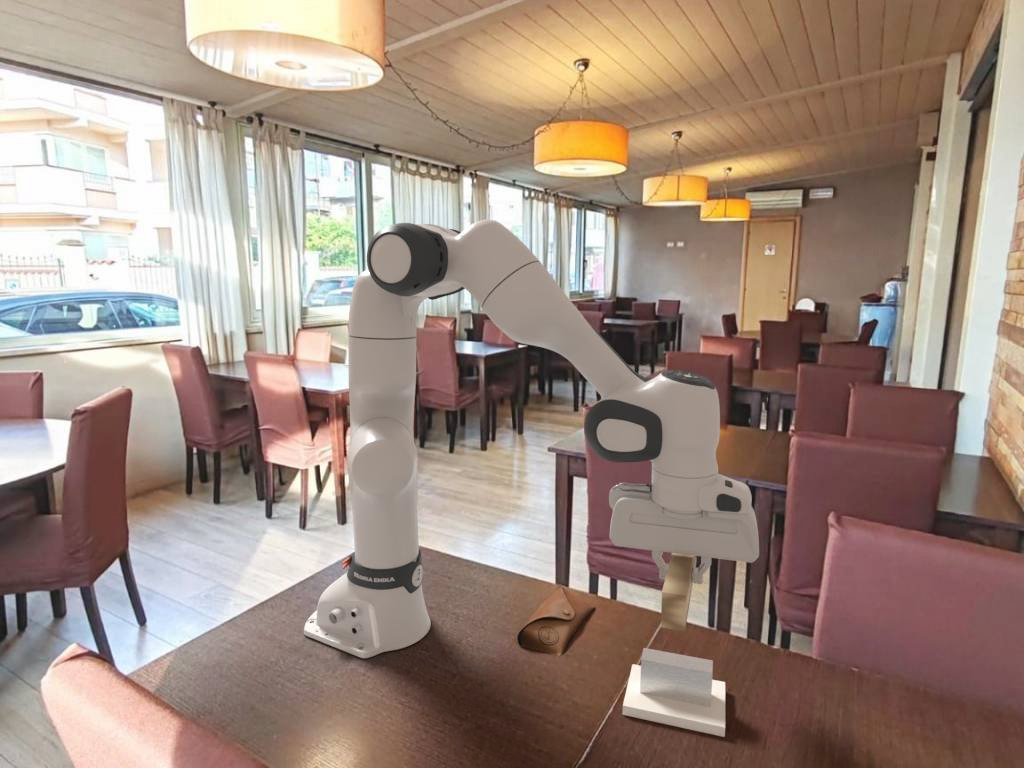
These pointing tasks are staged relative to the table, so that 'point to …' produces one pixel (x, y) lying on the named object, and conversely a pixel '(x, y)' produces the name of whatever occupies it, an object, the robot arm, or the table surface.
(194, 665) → the table surface
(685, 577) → the oak rod
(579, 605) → the sunglasses case
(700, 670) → the ridge stand
